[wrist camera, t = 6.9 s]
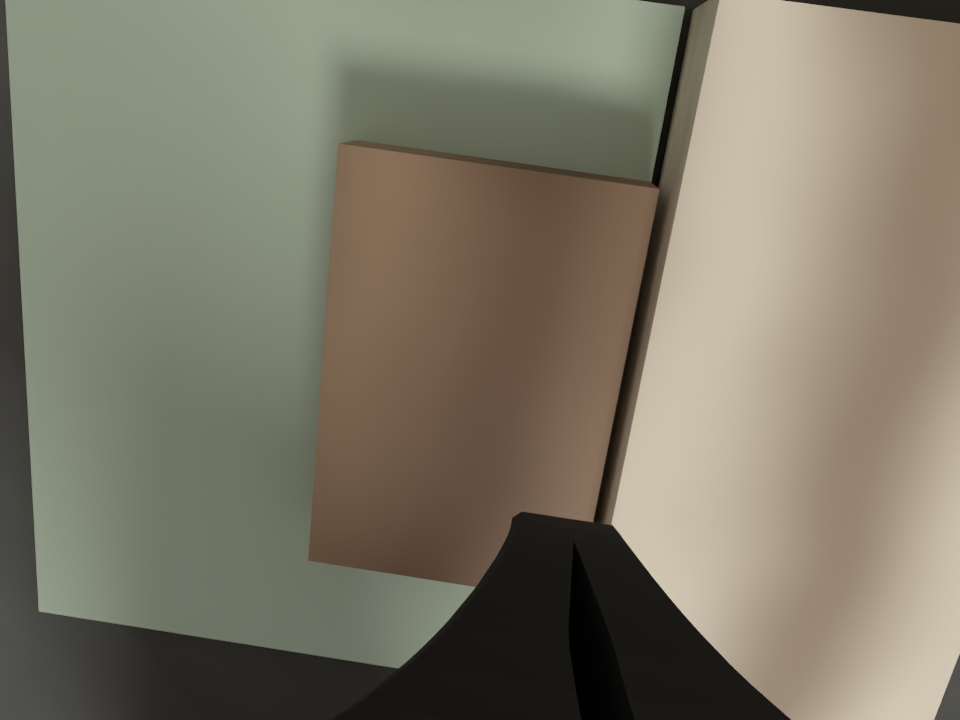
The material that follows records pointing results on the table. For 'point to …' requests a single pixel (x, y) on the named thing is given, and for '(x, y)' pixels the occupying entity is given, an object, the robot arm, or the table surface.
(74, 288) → the mat
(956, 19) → the table surface
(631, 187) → the tile
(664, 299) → the beige flat block
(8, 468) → the table surface
